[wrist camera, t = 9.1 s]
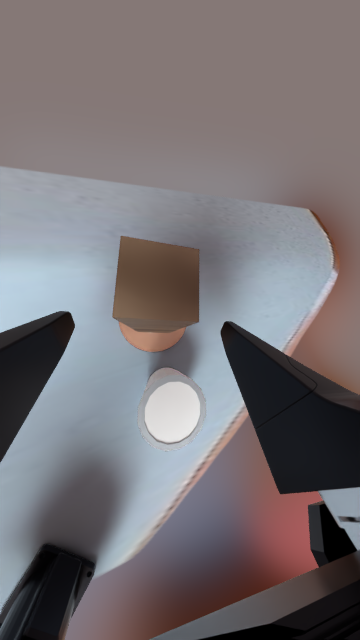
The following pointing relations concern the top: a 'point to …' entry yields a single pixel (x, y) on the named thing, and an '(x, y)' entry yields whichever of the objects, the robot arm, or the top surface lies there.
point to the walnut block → (156, 286)
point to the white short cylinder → (171, 410)
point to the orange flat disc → (151, 338)
